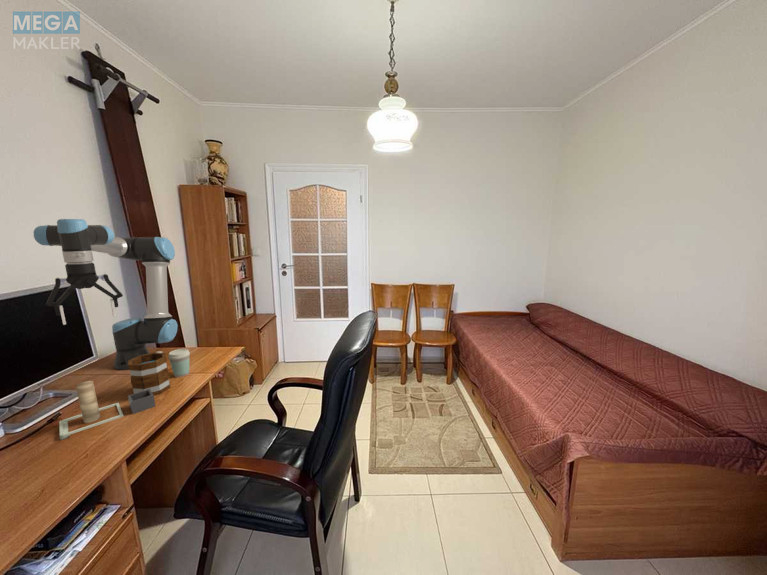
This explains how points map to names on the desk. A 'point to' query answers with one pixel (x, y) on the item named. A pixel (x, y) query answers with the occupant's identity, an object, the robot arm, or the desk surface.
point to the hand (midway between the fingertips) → (90, 319)
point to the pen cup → (141, 401)
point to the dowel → (88, 401)
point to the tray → (65, 432)
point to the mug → (149, 373)
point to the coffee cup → (179, 362)
